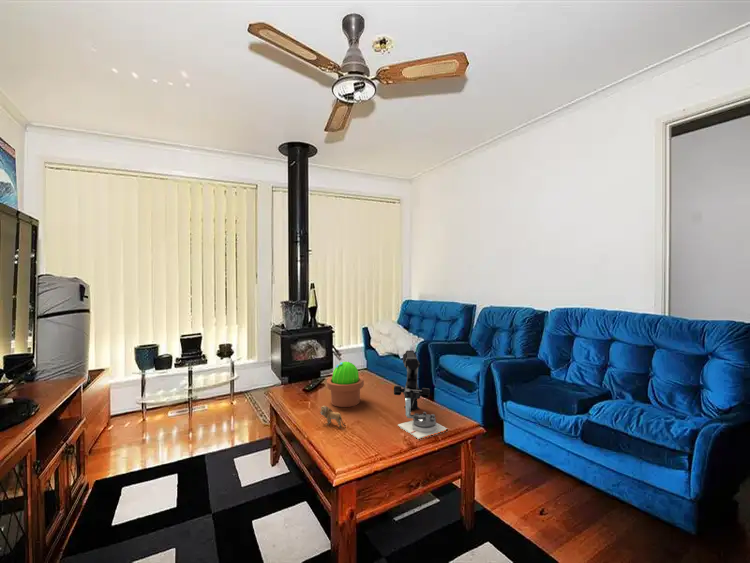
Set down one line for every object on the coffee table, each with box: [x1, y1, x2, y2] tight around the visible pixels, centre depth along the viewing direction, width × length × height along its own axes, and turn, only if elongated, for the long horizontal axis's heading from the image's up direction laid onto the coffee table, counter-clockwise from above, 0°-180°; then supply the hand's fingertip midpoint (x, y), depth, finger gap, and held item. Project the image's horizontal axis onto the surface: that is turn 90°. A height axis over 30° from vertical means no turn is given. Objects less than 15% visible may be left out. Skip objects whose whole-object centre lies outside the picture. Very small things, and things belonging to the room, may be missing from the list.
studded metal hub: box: [404, 397, 437, 428], centre depth 175 cm, size 15×11×12 cm
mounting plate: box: [397, 419, 448, 440], centre depth 175 cm, size 17×18×3 cm
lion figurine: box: [319, 405, 347, 429], centre depth 181 cm, size 15×5×9 cm, turn 67°
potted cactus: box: [326, 361, 365, 408], centre depth 212 cm, size 22×22×25 cm
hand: (410, 407), depth 180 cm, fingers closed
